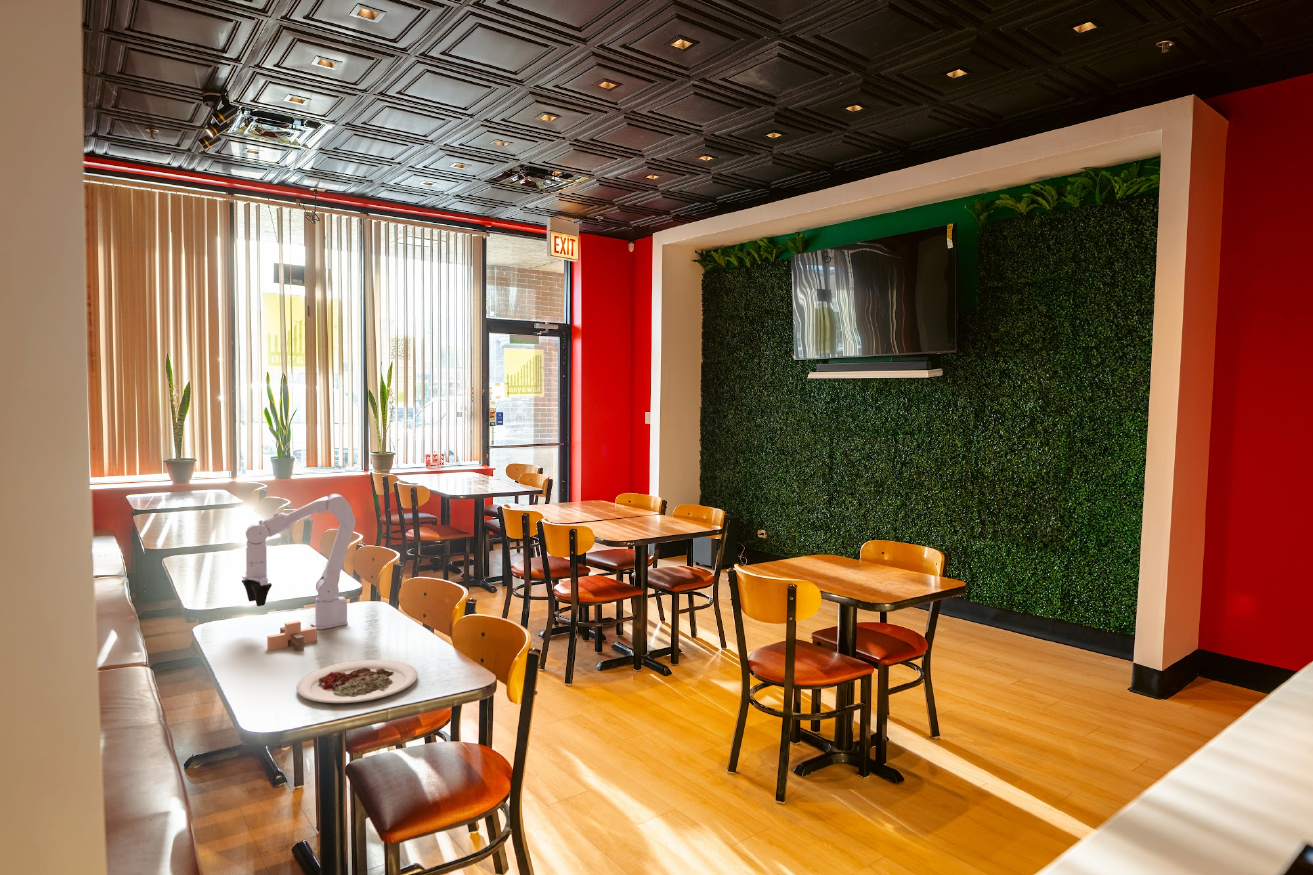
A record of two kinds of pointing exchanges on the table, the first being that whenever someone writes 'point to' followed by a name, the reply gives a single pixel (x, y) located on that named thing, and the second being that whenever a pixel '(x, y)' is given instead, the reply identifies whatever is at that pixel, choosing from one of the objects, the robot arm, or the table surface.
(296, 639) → the walnut notched bar
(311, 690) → the plated food
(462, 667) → the table surface
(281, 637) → the salmon stepped block
